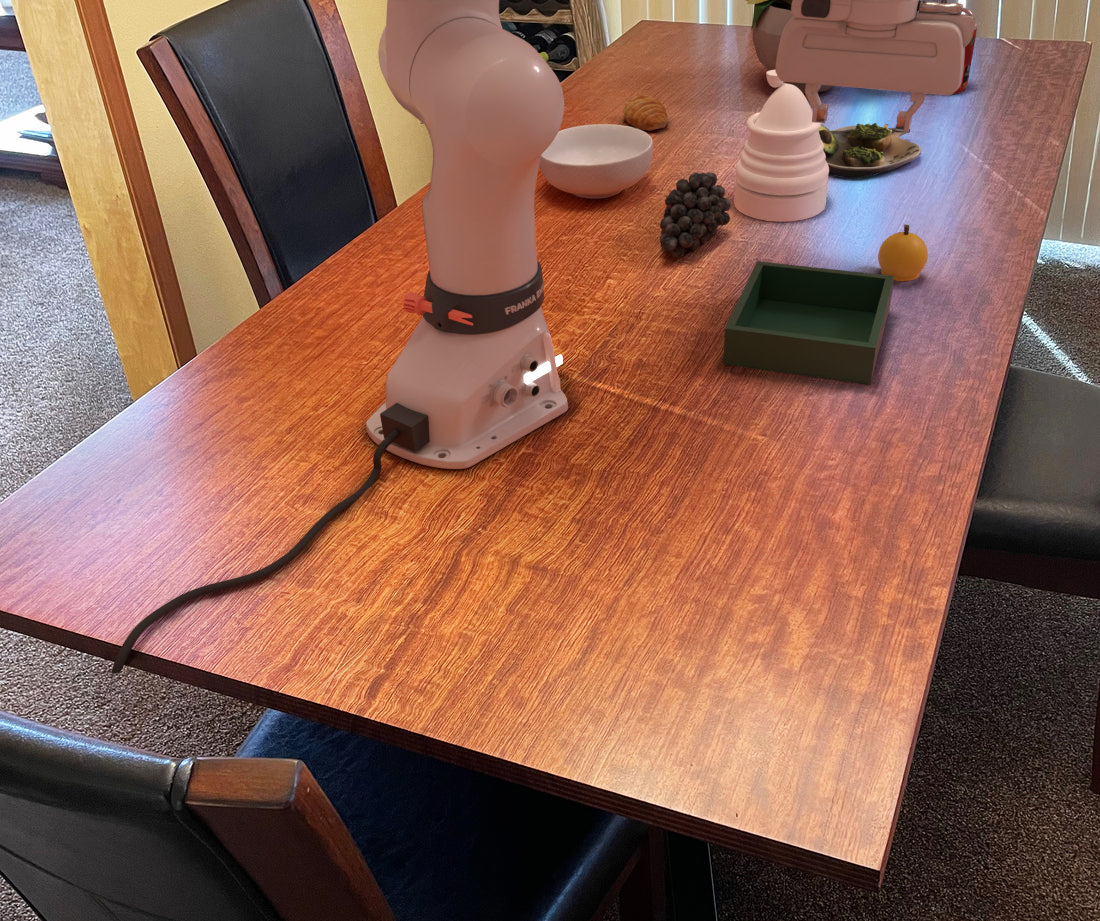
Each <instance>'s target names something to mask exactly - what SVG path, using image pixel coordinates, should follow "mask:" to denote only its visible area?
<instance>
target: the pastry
mask: <svg viewBox="0 0 1100 921" xmlns="http://www.w3.org/2000/svg"><path fill="white" fill-rule="evenodd" d="M622 111H623V117H624V120H625V121H626V123H627V124H629V125H630V126H632V127H633V128H636V129H639V130H642V131H648V132H650V131H654V130H656V129H664V128H665V127H666V125H667V124H668V123H669V122H668V113H667V110H666V107H665V105H663V103H662V102H661V101H660V100H659V99H658V98H656V97H652V96H650V95H647V94H637V95H635V96H634V97H633V98H629V99H628V101H627V102H626V103H625V105H624V107H623V110H622Z"/></svg>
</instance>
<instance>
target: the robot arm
mask: <svg viewBox="0 0 1100 921" xmlns="http://www.w3.org/2000/svg"><path fill="white" fill-rule="evenodd" d="M791 11H792V15H793V17H792V18H791V19H790V20H789V22H788V23H787V24H786V26H785V27H784V29H783V32H782V35H781V39H780V43H779V48H778V53H777V60H776V69H775V71H776V74H777V76H778V77H779V79H780V80H781V81H784V82H796V83H806V86H805V92H804V94H805V97H806V99H807V101H808V103H809V106H810V108H811V109H812V113H813V114H812V122H814V123H821V124H826V122H827V120H828V112H829V107H830V106H829V104H827V103H822V101H821V97H820V96H819V92H818V90H819V89H820V87H821V85H831V86H833V87H843V88H854V89H855V88H856V89H868V90H879V91H880V90H881V91H891V92H902V93H903V92H904V93H910V103H912V104H911V105H910V107H909V108H908V109H907V110H899V112H898V114H897V115H896V125H895V128H896V129H895V130H898V131H908V132H909V129H910V130H911V126H912V121H913V120H912V119H913V116H914V115H915V114H916V113H917V111H919V109H920V108H921V107H922V106H923V104H924V102H925V100H926V97H927V96H926V95H936V96H937V95H939V96H952V95H954V94H953V93H954V92H955V91H956V90H957V89H958V88H959V87H960V85H961V82H962V76H963V69H964V58H965V47H966V46H967V45H968V44H969V43H970V41H971V39H972V37H973V32H974V26H975V22H976V18H975V15H974V13H973V11H972V10H970V9H968V8H967V7H964V4H963V3H959V2H951V3H944V2H938V1H930V0H928V1H927V0H793V1H792V7H791ZM385 18H386V19H385V26H384V28H383V30H382V32H381V35H380V39H379V43H378V50H377V51H378V52H377V53H378V54H377V55H378V64H379V68H380V71H381V74H382V75H383V78H384V80H385V83H386V85H387V87H388V88H389V90H390V93H391V94H392V95H393V97H394V99H395V100H396V102H397V103H398V104H399V105H400V106H401V107H402V109H404V110H405V111H406V112H408V113H409V114H411V116H412V117H414V118H416V120H418V121H419V122H421V123H422V124H423V125H424V126H425V128H426V131H427V133H428V135H429V138H430V141H431V145H432V146H431V148H432V166H431V167H432V168H431V176H430V183H429V189H428V190H427V192H426V193H425V194H424V196H423V199H422V202H421V213H422V219H423V220H422V222H423V229H424V230H423V231H424V237H425V243H426V244H425V246H426V253H427V260H428V272H427V275H426V280H425V286H424V292H423V295H419V294H418V293H415V292H412V291H410V292H407V293H406V294H405V295H404V297H403V300H402V308H403V310H404V311H405V312H407V313H410V314H416V315H417V316H422V317H421V318H420V320H419V322H418V324H417V325H416V327H415V328H414V329H413V332H412V333H411V335H410V336H409V338H408V339H407V341H406V343H405V345H404V346H403V348H402V350H401V351H400V353H399V355H398V356H397V357H396V359H395V361H394V362H393V364H392V366H391V367H390V369H389V370H388V373H387V375H386V377H385V378H386V379H385V388H384V395H385V401H384V402H383V404H381V405H380V407H379V408H377V409H376V410H375V412H373V414H372V415H371V416H370V417H368V419H367V420H366V422H365V431H366V433H367V435H368V436H369V438H370V439H371V440H372V441H373V442H374V443H375V444H376V445H377V447H376V449H375V451H374V453H373V456H372V462H373V468H372V470H371V472H370V474H369V476H368V478H367V480H366V481H365V482H364V484H363V485H362V486H361V487H360V488H359V489H358V490H356V491H355V492H354V493H353V494H351V495H349V496H347V497H346V498H345V499H343V500H342V501H340V502H338V503H337V504H336V505H335V506H332V508H330V509H329V510H328V511H326V513H324V514H323V515H322V517H321V518H320V519H318V521H316V522H315V524H314V525H313V526H312V527H311V528H310V529H309V530H308V531H307V532H306V534H304V536H303V537H302V538H301V539H300V540H299V541H298V542H297V543H296V544H295V545H294V546H293V547H292V548H291V549H290V550H289V551H287V552H286V553H285V554H284V555H282V556H281V557H279V558H278V559H276V560H275V561H274V562H272V563H270V564H269V565H267V566H264V567H263V568H260V569H258V570H256V571H253V572H250V573H248V574H245V575H241V576H237V577H234V578H230V579H226V580H221V581H217V582H214V583H209V584H205V585H203V586H199V587H196V588H194V589H191V590H188V591H187V592H184V593H182V594H180V595H178V596H176V597H174V598H172V599H171V600H169V601H168V602H166V603H164V604H163V605H161V606H160V607H159V608H157V609H155V610H154V611H152V612H151V613H149V614H148V615H147V616H146V617H144V618H143V619H142V620H141V621H140V622H138V623H137V624H136V625H135V626H134V628H133V629H132V630H131V631H130V632H129V634H128V635H127V636H126V639H125V640H124V642H123V643H122V645H121V647H120V649H119V651H118V652H117V655H116V657H115V660H114V662H113V666H112V668H111V674H113V675H115V674H117V675H118V674H119V673H120V672H122V670H123V669H124V666H125V664H126V661H127V659H128V658H129V655H130V653H131V652H132V649H133V647H134V646H135V644H136V642H137V641H138V640H139V638H140V637H141V636H142V634H143V633H144V632H145V631H146V630H147V629H148V628H149V627H150V626H152V625H153V624H154V623H155V622H157V621H158V620H160V619H162V618H163V617H164V616H166V615H167V614H169V613H170V612H172V611H174V610H175V609H177V608H179V607H181V606H182V605H184V604H186V603H188V602H190V601H193V600H195V599H198V598H200V597H203V596H207V595H210V594H213V593H218V592H222V591H226V590H229V589H234V588H237V587H241V586H245V585H248V584H252V583H253V582H257V581H259V580H262V579H264V578H266V577H268V576H270V575H272V574H273V573H276V572H277V571H279V570H280V569H281V568H284V567H285V566H286V565H287V564H289V563H290V562H291V561H293V560H294V559H296V557H297V556H298V555H300V554H301V552H303V551H304V550H305V549H306V548H307V547H308V545H309V544H310V543H312V541H313V540H314V539H315V537H317V535H318V534H319V533H320V532H321V531H322V530H323V529H324V528H325V526H326V525H327V524H328V523H330V521H331V520H333V519H334V518H335V517H337V515H339V514H340V513H342V512H343V511H344V510H347V508H349V507H350V506H351V505H353V504H354V503H355V502H357V501H358V500H359V498H361V496H363V495H364V493H365V492H367V491H368V490H369V489H370V488H371V487H372V486H373V485H374V484H375V483H376V482H377V480H378V478H379V476H380V474H381V472H382V467H383V466H382V457H383V455H384V453H385V451H387V452H389V453H391V454H393V455H394V456H395V455H396V456H398V457H400V458H402V459H405V460H407V461H411V462H413V463H417V464H419V465H423V466H428V467H431V468H436V469H447V470H463V469H464V470H465V469H469V468H470V467H472V466H475V465H476V464H478V463H480V462H481V461H483V460H485V459H487V458H488V457H490V456H492V455H493V454H495V453H497V452H499V451H500V450H502V449H504V448H506V447H507V446H509V445H511V444H512V443H514V442H516V441H518V440H520V439H521V438H523V437H525V436H526V435H528V434H530V433H532V432H534V431H535V430H537V429H539V428H541V427H542V426H544V425H546V424H547V423H549V422H551V421H552V420H554V419H556V418H558V417H559V416H561V415H563V414H565V413H566V412H567V411H568V410H569V403H568V402H569V401H568V399H567V396H566V394H565V393H564V392H563V389H562V388H561V384H562V383H561V378H560V375H559V374H558V367H559V366H561V365H563V363H564V362H563V355H562V354H558V355H557V356H556V354H555V348H554V344H553V339H552V335H551V332H550V330H549V327H548V324H547V321H546V317H545V315H544V311H543V307H542V306H543V303H544V301H545V290H544V289H545V279H544V276H543V269H542V264H541V263H540V261H539V260H538V250H537V232H536V231H537V230H536V211H535V210H536V209H535V198H536V197H535V196H536V186H537V180H538V173H539V169H540V166H539V164H540V160H541V156H542V153H543V152H544V151H545V150H546V149H547V148H548V147H549V146H550V145H551V143H552V142H553V140H554V139H555V137H556V135H557V133H558V131H560V130H561V126H562V123H563V119H564V114H565V96H564V91H563V87H562V84H561V82H560V80H559V78H558V76H557V75H556V73H555V71H554V70H553V69H552V68H551V66H550V65H549V64H548V62H547V61H546V60H545V58H543V57H542V55H541V54H540V53H539V52H538V50H537V49H535V47H533V45H531V44H530V43H529V42H528V41H526V40H525V39H523V38H521V37H519V36H517V35H515V34H513V33H511V32H510V31H508V30H505V29H503V26H502V22H501V17H500V0H386V16H385ZM784 82H783V83H784ZM909 133H910V132H909Z"/></svg>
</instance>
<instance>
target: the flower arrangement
mask: <svg viewBox="0 0 1100 921" xmlns="http://www.w3.org/2000/svg"><path fill="white" fill-rule="evenodd" d="M745 1H746V2H747V3H746V5H754V8H753V14H752V22H751V30H752V43H753V45H754V50H755V53H756V56H757V59H758V61H759V63H761V65H763V66H764V67H765V68H766V69H767V70H768V71H770V70H775V69H776V60H777V53H778V48H779V43H780V39H781V35H782V32H783V29H784V27H785V26H786V24H787V23H788V22H789V20H790V19H791V18H792V17H793V15H792V11H791V7H792V1H793V0H745ZM783 83H786V84H791V85H794V86H796V87H797V88H798V89H799V90H800V91H801V92H802V93H805V86H806V83H796V82H783ZM833 88H834V86H831V85H821V87H820V89H819V90H818V92H817V93H822V92H827V91H829V90H832V89H833Z"/></svg>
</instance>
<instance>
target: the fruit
mask: <svg viewBox="0 0 1100 921" xmlns="http://www.w3.org/2000/svg"><path fill="white" fill-rule="evenodd" d="M717 183H718V176H717V174H716V173H715V172H706V173H705V172H700V173H699V172H693V173H690V174H689V176H688V179H685V178H680V179H679V180H677V181H676V183H675V187H676V188H675V189H673V190H671V191H670V192H669V193H668V195H667V196H666V197H665V199H664V204H665V206H666V207H665V208H664V212H663V216H662V217H663V218H662V219H661V220H660V223H659V227H660V229H661V232H660V236H659V244H660V248H661V250H662V251H663V252H665V253H669V254H670V256H671V257H672V258H676V259H679V258H682V257H683V256H684V254H685V249H686V248H689V250H692V251H696V250H697V249H699V248H700V242H702V243H704V242H705V243H706V242H707V241H708V240H709V238H714V237H715V236H716V235H717V232H718V227H720V226H727V225H728V224H729V223H730V221H731V216H730V214H729V213H728V211H729V210H730V208H731V206H732V202H731V200H730V199H729V198H727V197H725V195H726V189H725V187H723V185H721V184H717Z"/></svg>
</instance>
